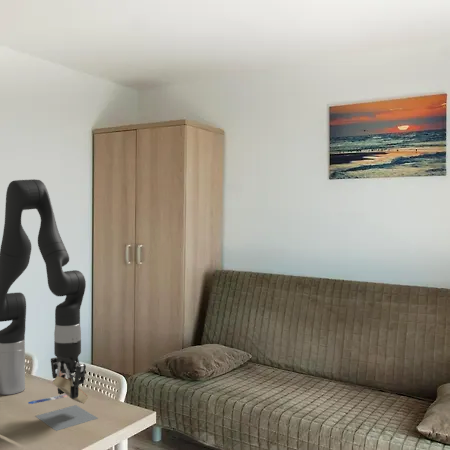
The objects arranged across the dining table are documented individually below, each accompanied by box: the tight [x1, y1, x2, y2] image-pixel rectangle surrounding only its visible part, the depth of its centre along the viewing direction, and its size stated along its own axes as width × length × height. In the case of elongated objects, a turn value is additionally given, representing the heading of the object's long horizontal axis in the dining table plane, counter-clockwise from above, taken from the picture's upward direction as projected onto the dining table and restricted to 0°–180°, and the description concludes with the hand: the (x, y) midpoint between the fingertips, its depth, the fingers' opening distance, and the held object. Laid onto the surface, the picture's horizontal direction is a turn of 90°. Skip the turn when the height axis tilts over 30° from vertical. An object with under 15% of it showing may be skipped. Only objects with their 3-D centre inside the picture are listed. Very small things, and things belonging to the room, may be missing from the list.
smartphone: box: [27, 393, 70, 405], centre depth 167 cm, size 7×1×15 cm
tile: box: [52, 376, 89, 405], centre depth 155 cm, size 6×2×10 cm
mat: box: [35, 404, 99, 432], centre depth 154 cm, size 14×13×1 cm
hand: (68, 395), depth 154 cm, fingers closed on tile, 5 cm apart
